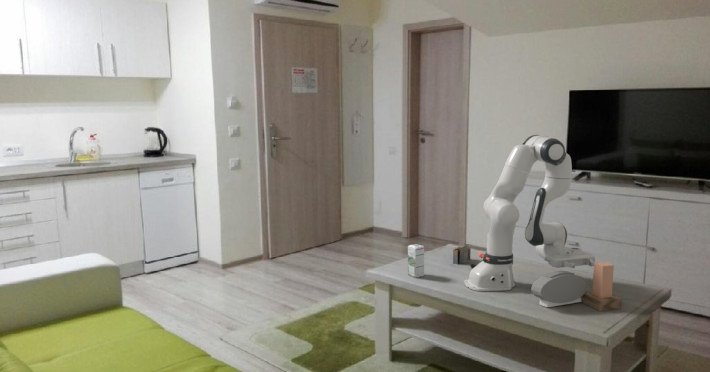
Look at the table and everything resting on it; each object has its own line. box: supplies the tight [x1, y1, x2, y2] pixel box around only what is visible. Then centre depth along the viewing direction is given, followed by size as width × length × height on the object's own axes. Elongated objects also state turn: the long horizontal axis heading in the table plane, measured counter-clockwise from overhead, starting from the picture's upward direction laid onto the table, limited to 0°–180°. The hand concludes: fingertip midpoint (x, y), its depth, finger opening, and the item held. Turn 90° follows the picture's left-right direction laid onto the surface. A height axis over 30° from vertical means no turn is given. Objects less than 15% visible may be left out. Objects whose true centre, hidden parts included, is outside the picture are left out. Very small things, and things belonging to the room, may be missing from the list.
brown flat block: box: [452, 245, 472, 265], centre depth 277 cm, size 11×3×10 cm, turn 133°
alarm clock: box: [530, 270, 589, 308], centre depth 218 cm, size 23×6×13 cm, turn 109°
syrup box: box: [407, 243, 425, 279], centre depth 255 cm, size 6×6×14 cm
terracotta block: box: [592, 261, 615, 298], centre depth 214 cm, size 5×5×13 cm
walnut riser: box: [582, 291, 623, 312], centre depth 216 cm, size 10×10×4 cm
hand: (583, 265), depth 226 cm, fingers open, 8 cm apart
